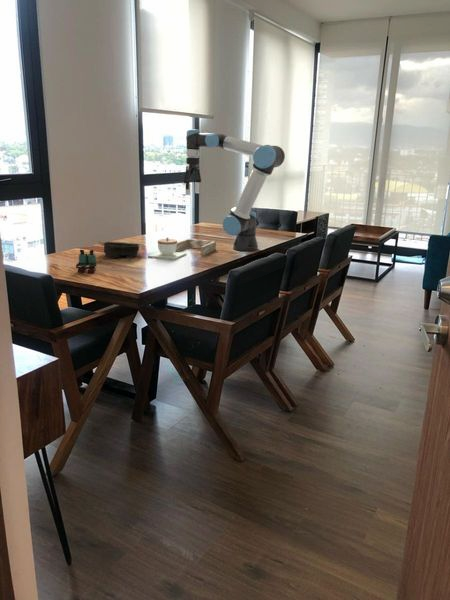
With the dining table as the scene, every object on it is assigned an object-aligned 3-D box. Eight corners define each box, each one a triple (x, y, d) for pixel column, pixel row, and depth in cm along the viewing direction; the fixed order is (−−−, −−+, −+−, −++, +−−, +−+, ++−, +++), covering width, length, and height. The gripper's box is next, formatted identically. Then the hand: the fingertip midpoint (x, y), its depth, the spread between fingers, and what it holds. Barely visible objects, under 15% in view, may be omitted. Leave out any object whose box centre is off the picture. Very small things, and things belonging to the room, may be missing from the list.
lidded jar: (173, 256, 270) (173, 239, 267) (155, 255, 272) (154, 238, 269) (179, 253, 280) (179, 236, 277) (161, 251, 282) (161, 235, 279)
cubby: (215, 249, 297) (215, 241, 296) (203, 255, 279) (203, 247, 278) (186, 246, 303) (186, 238, 302) (172, 252, 286) (172, 244, 284)
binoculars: (73, 254, 229) (78, 248, 238) (75, 275, 233) (80, 268, 242) (92, 254, 229) (97, 248, 238) (94, 276, 233) (98, 269, 242)
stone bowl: (100, 261, 259) (99, 243, 257) (99, 254, 283) (98, 238, 281) (147, 258, 266) (146, 241, 263) (142, 252, 289) (141, 237, 287)
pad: (186, 254, 281) (186, 253, 280) (174, 260, 266) (174, 258, 266) (161, 252, 286) (161, 250, 286) (147, 257, 271) (147, 255, 271)
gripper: (195, 156, 301) (195, 192, 308) (177, 157, 279) (177, 195, 285) (206, 157, 299) (206, 192, 305) (190, 157, 276) (189, 196, 283)
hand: (192, 194), depth 295 cm, fingers open, 13 cm apart
